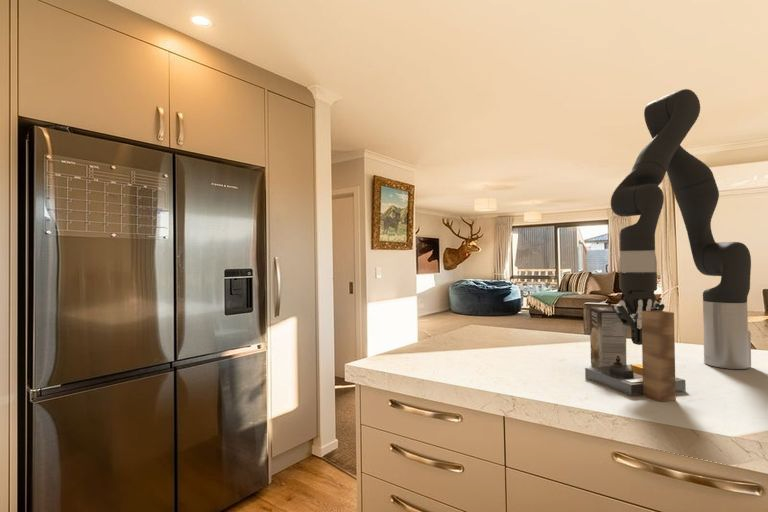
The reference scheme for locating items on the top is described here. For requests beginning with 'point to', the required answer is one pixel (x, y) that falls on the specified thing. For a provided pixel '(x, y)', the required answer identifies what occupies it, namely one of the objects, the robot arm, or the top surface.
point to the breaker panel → (624, 378)
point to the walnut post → (658, 355)
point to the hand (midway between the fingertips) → (638, 344)
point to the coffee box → (607, 338)
